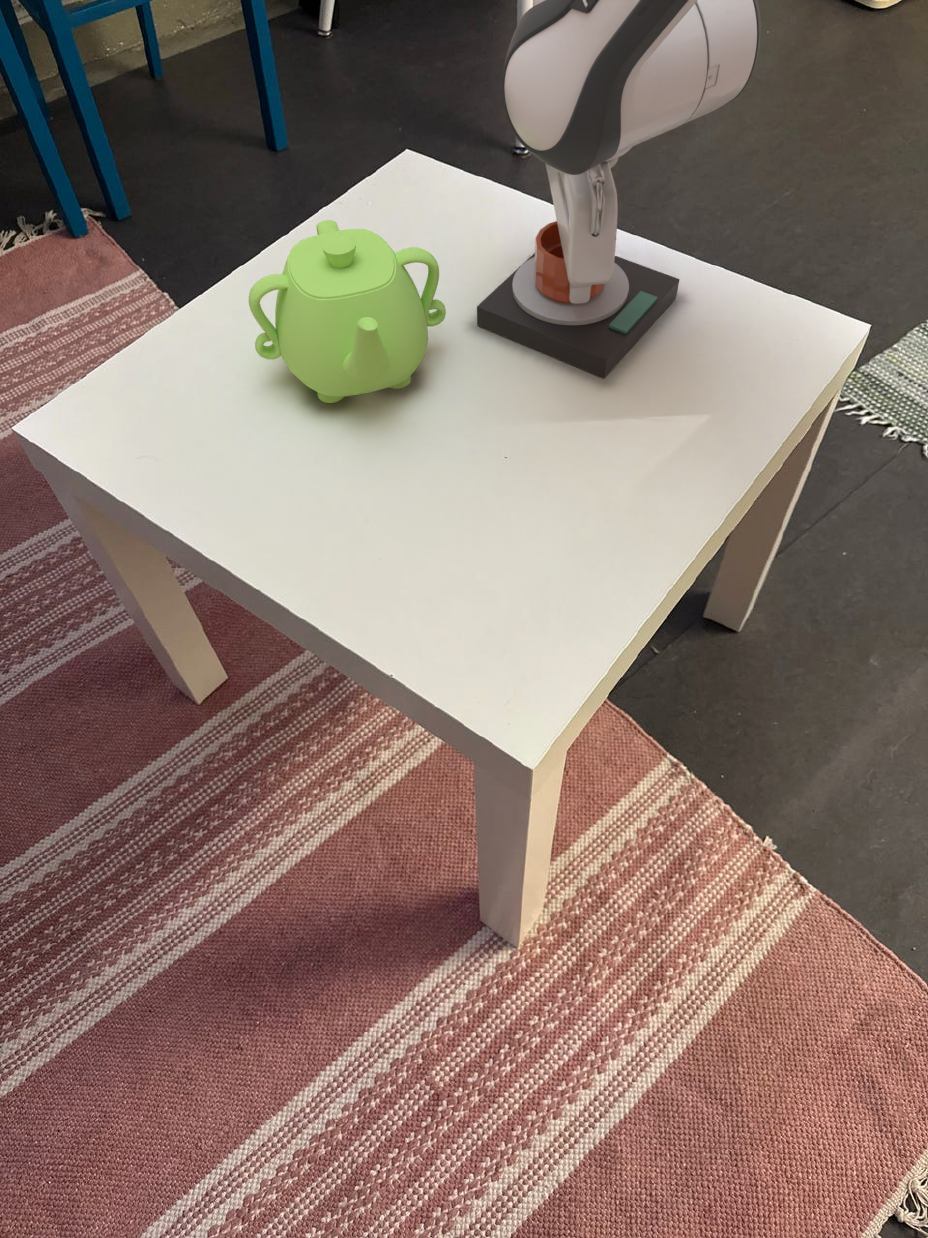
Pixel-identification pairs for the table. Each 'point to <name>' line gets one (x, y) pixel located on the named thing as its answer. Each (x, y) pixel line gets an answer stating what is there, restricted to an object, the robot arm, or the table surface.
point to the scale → (580, 315)
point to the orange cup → (553, 266)
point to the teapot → (348, 312)
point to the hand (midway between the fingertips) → (572, 267)
